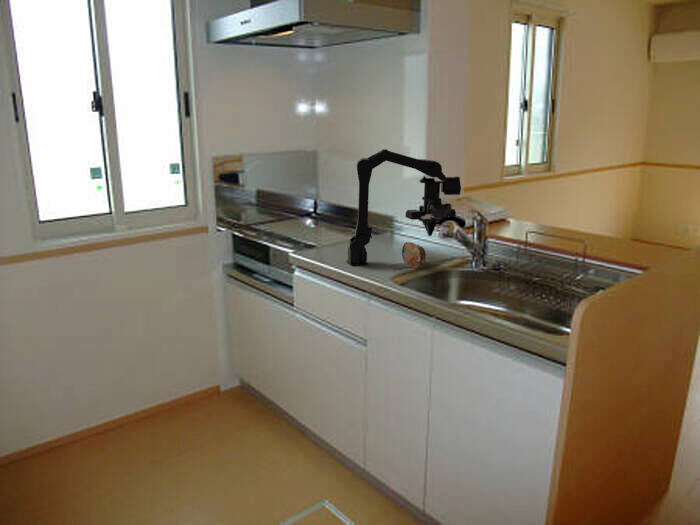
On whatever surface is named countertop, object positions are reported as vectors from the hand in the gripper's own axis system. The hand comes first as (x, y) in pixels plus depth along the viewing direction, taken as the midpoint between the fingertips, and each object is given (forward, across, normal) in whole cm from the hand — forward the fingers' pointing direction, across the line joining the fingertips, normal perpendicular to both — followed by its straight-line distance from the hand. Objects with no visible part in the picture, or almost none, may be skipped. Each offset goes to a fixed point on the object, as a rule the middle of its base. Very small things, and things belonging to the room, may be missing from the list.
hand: (429, 235), depth 207 cm
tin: (+11, -6, 0) cm, 13 cm away
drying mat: (+11, -12, 0) cm, 16 cm away
